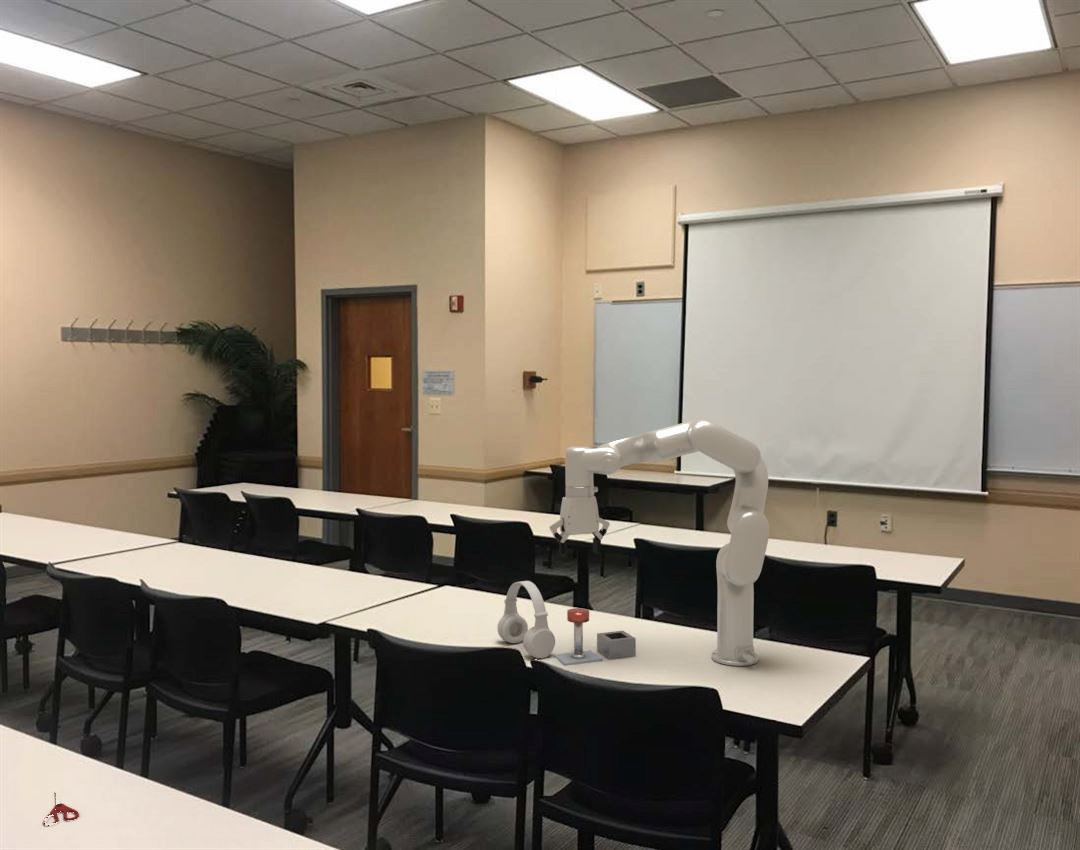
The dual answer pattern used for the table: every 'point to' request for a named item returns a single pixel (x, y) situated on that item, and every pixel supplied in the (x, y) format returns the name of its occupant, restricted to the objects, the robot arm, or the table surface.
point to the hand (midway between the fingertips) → (580, 554)
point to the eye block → (616, 645)
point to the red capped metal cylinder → (578, 629)
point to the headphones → (516, 628)
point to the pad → (568, 659)
